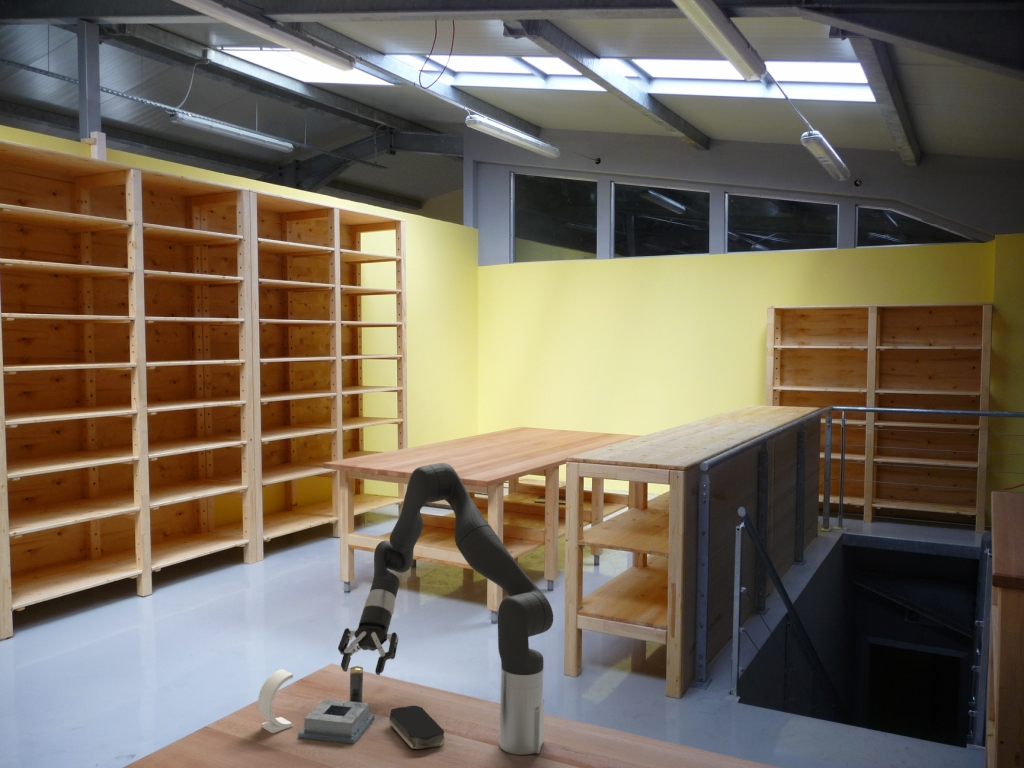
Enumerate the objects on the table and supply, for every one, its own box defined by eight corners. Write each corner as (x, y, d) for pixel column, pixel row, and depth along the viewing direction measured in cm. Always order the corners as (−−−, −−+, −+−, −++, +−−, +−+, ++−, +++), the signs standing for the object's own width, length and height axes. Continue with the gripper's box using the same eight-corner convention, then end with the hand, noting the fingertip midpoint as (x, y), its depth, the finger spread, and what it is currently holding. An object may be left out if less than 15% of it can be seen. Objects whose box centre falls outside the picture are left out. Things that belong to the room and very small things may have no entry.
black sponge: (386, 724, 189) (386, 709, 189) (420, 718, 193) (420, 702, 193) (412, 755, 175) (412, 738, 175) (448, 747, 179) (448, 731, 179)
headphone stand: (292, 726, 187) (293, 674, 186) (268, 735, 182) (269, 681, 182) (281, 720, 190) (282, 668, 189) (257, 728, 185) (258, 675, 185)
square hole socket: (374, 719, 192) (374, 701, 192) (353, 743, 179) (354, 725, 179) (321, 713, 194) (322, 696, 194) (297, 737, 181) (298, 719, 181)
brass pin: (364, 705, 199) (364, 666, 199) (359, 710, 196) (360, 671, 196) (352, 704, 199) (353, 665, 199) (347, 709, 196) (348, 670, 196)
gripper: (348, 602, 210) (329, 662, 199) (401, 606, 207) (385, 667, 196) (355, 616, 215) (337, 676, 204) (407, 621, 213) (392, 681, 202)
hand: (360, 671), depth 200 cm, fingers open, 8 cm apart
